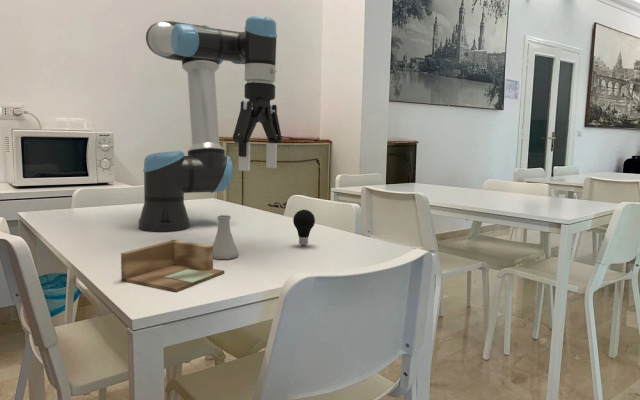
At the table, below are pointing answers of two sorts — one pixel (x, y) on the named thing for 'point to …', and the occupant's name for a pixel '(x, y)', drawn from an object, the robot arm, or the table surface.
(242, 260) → the table surface
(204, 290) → the table surface
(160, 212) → the robot arm
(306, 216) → the light bulb
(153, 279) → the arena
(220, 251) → the flask
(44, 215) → the table surface
